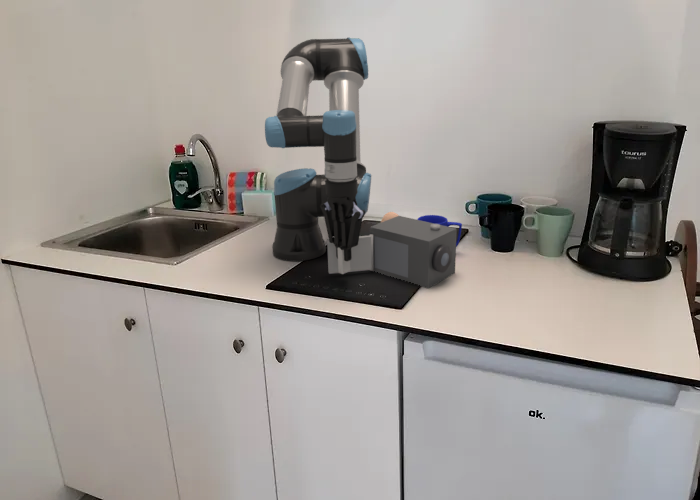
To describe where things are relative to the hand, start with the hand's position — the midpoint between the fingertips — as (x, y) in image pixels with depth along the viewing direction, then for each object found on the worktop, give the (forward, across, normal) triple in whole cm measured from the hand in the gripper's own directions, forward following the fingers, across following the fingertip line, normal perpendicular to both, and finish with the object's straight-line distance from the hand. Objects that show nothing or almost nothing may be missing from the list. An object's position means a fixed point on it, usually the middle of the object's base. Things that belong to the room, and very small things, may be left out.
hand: (344, 271), depth 142 cm
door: (+2, -2, +5) cm, 6 cm away
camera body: (+3, +9, +16) cm, 18 cm away
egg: (+3, -12, +34) cm, 36 cm away
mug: (+3, +7, +31) cm, 32 cm away
